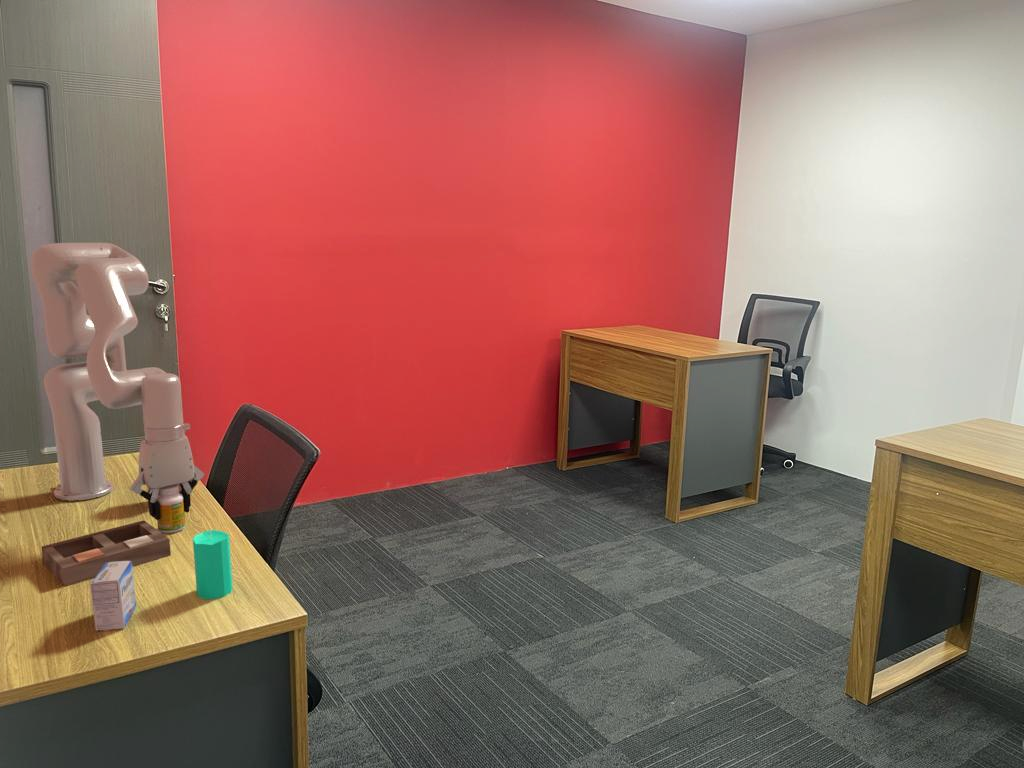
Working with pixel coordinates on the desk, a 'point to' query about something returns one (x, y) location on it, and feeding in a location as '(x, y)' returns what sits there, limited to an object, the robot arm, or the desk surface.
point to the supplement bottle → (171, 510)
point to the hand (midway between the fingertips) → (170, 513)
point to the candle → (212, 564)
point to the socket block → (104, 551)
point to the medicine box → (113, 595)
